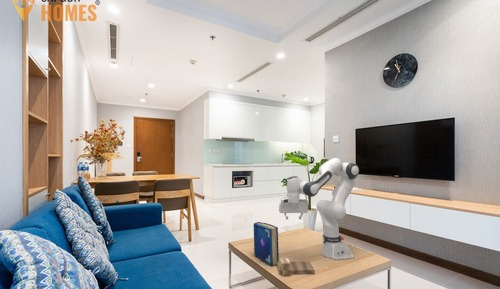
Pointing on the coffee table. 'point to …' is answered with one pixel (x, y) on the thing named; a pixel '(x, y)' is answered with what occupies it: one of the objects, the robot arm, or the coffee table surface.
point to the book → (266, 243)
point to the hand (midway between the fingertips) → (293, 219)
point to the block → (285, 267)
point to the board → (298, 267)
